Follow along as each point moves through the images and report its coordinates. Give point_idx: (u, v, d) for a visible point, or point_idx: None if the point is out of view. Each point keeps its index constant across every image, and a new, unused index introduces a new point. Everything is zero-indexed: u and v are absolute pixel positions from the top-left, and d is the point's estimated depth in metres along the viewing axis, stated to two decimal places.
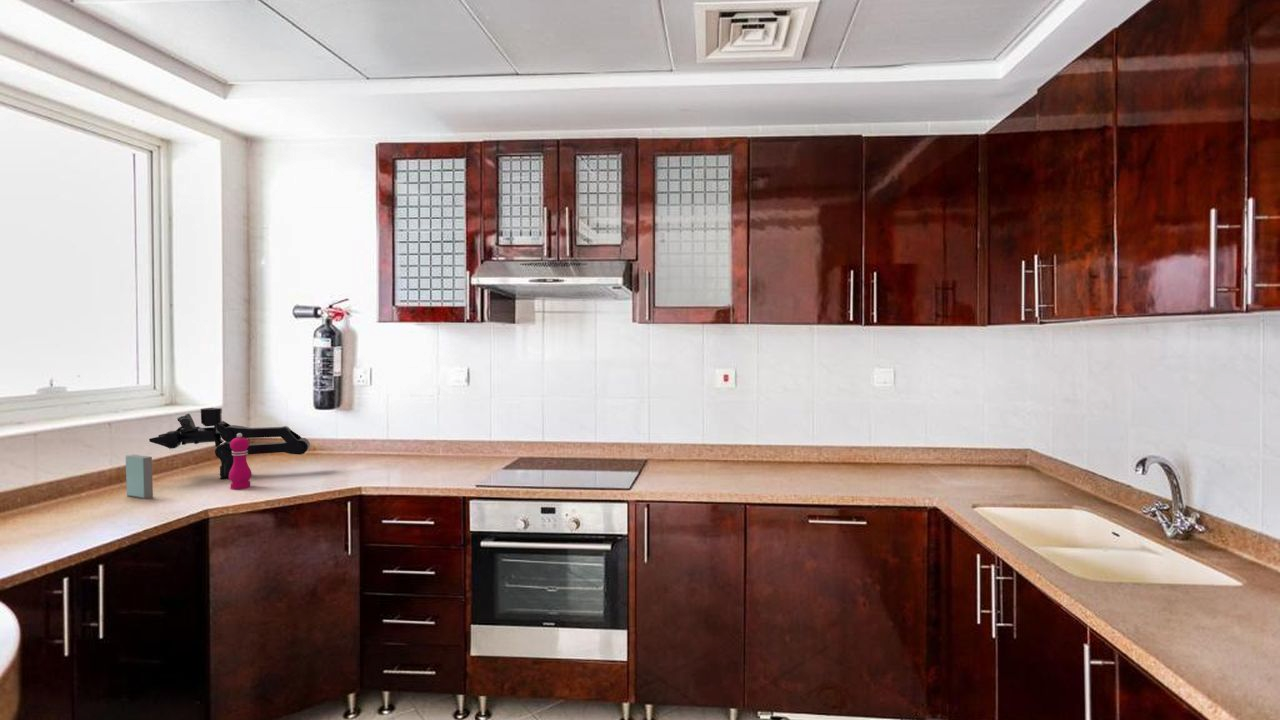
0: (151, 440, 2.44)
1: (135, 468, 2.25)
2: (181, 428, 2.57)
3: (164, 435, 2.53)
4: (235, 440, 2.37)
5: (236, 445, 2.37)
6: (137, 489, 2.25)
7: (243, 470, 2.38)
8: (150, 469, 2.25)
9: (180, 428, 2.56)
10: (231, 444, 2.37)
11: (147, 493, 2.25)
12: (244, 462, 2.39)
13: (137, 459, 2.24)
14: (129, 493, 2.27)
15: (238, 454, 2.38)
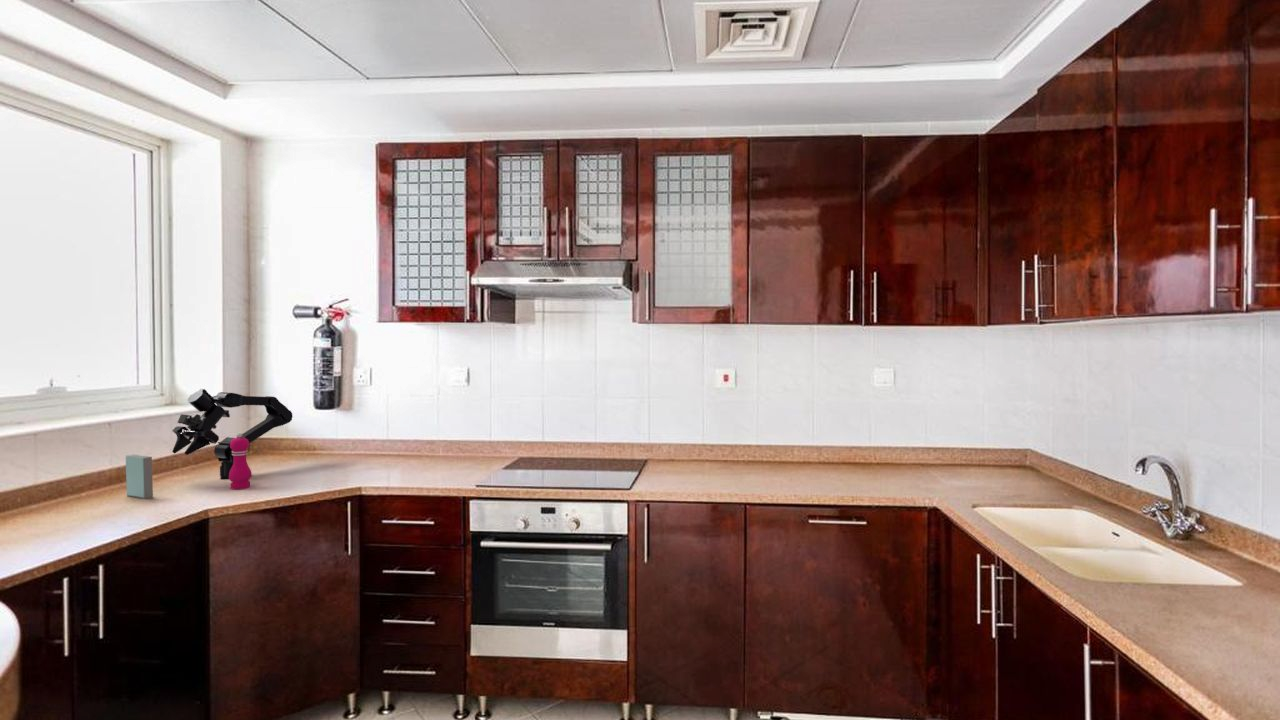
0: (188, 452, 2.38)
1: (135, 468, 2.25)
2: None
3: (176, 447, 2.41)
4: (235, 440, 2.37)
5: (236, 445, 2.37)
6: (137, 489, 2.25)
7: (243, 470, 2.38)
8: (150, 469, 2.25)
9: (180, 433, 2.43)
10: (231, 444, 2.37)
11: (147, 493, 2.25)
12: (244, 462, 2.39)
13: (137, 459, 2.24)
14: (129, 493, 2.27)
15: (238, 454, 2.38)
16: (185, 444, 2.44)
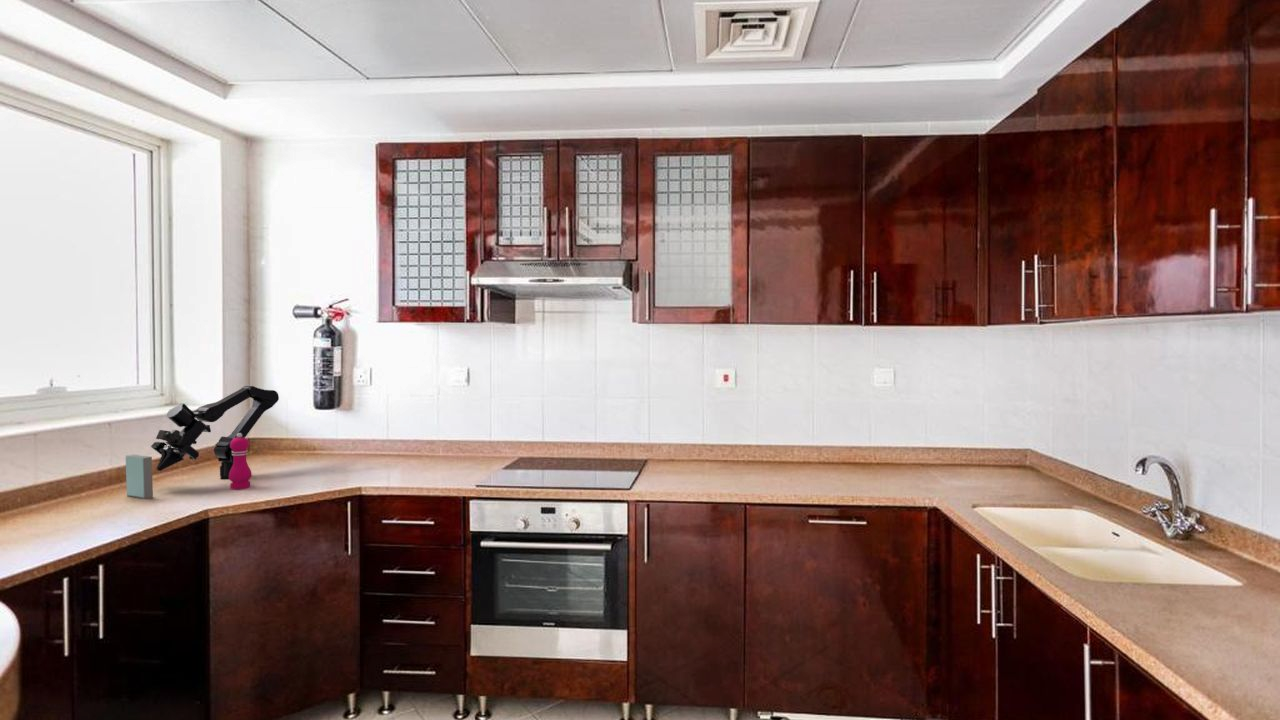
0: (160, 468, 2.32)
1: (135, 468, 2.25)
2: None
3: None
4: (235, 440, 2.37)
5: (236, 445, 2.37)
6: (137, 489, 2.25)
7: (243, 470, 2.38)
8: (150, 469, 2.25)
9: (164, 449, 2.35)
10: (231, 444, 2.37)
11: (147, 493, 2.25)
12: (244, 462, 2.39)
13: (137, 459, 2.24)
14: (129, 493, 2.27)
15: (238, 454, 2.38)
16: None
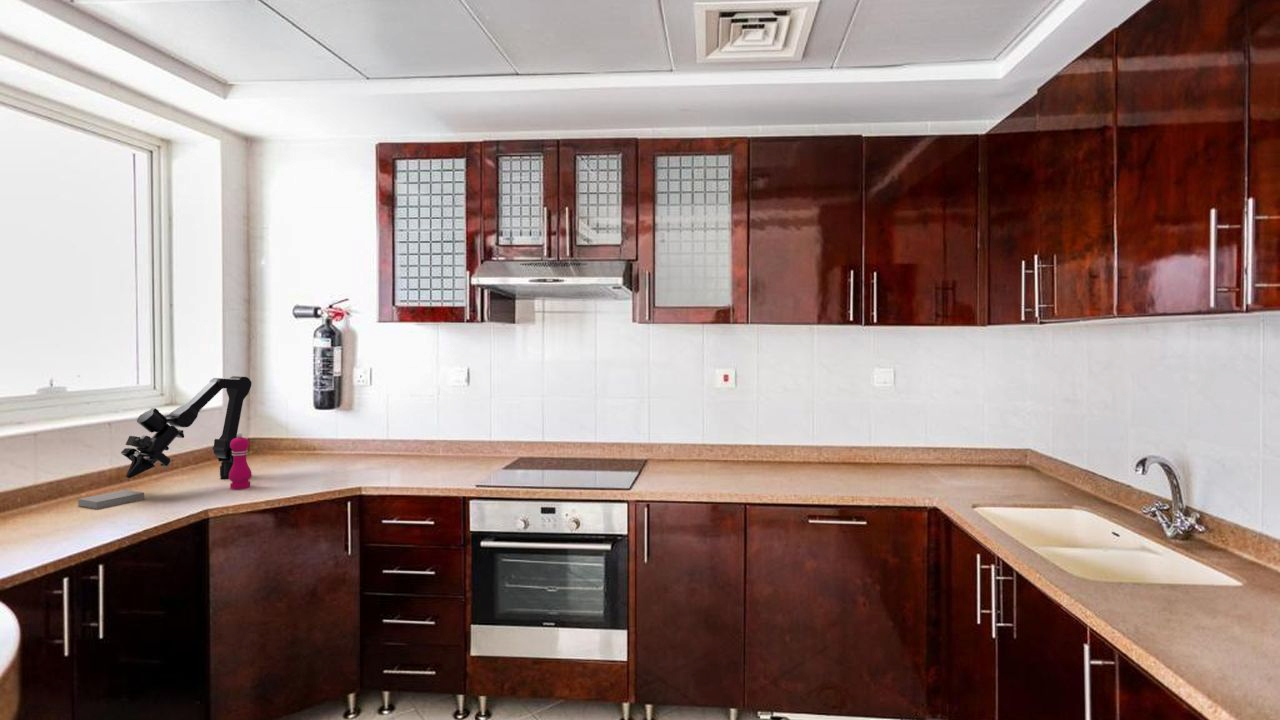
0: (130, 476, 2.23)
1: None
2: None
3: None
4: (235, 440, 2.37)
5: (236, 445, 2.37)
6: None
7: (243, 470, 2.38)
8: (111, 501, 2.15)
9: (134, 456, 2.26)
10: (231, 444, 2.37)
11: (138, 498, 2.22)
12: (244, 462, 2.39)
13: None
14: None
15: (238, 454, 2.38)
16: None
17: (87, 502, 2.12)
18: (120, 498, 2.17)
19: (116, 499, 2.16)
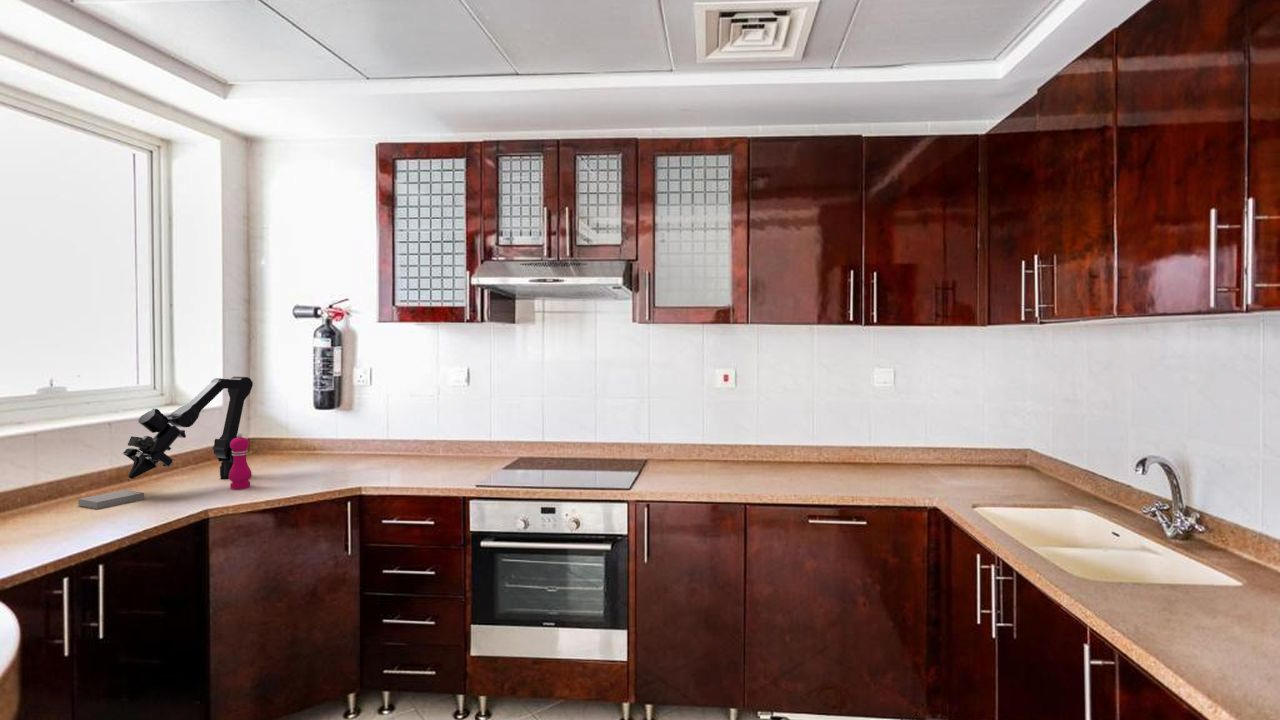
0: (132, 476, 2.24)
1: None
2: None
3: None
4: (235, 440, 2.37)
5: (236, 445, 2.37)
6: None
7: (243, 470, 2.38)
8: (112, 501, 2.15)
9: (136, 456, 2.27)
10: (231, 444, 2.37)
11: (138, 498, 2.22)
12: (244, 462, 2.39)
13: None
14: None
15: (238, 454, 2.38)
16: None
17: (87, 502, 2.13)
18: (120, 498, 2.17)
19: (116, 499, 2.16)
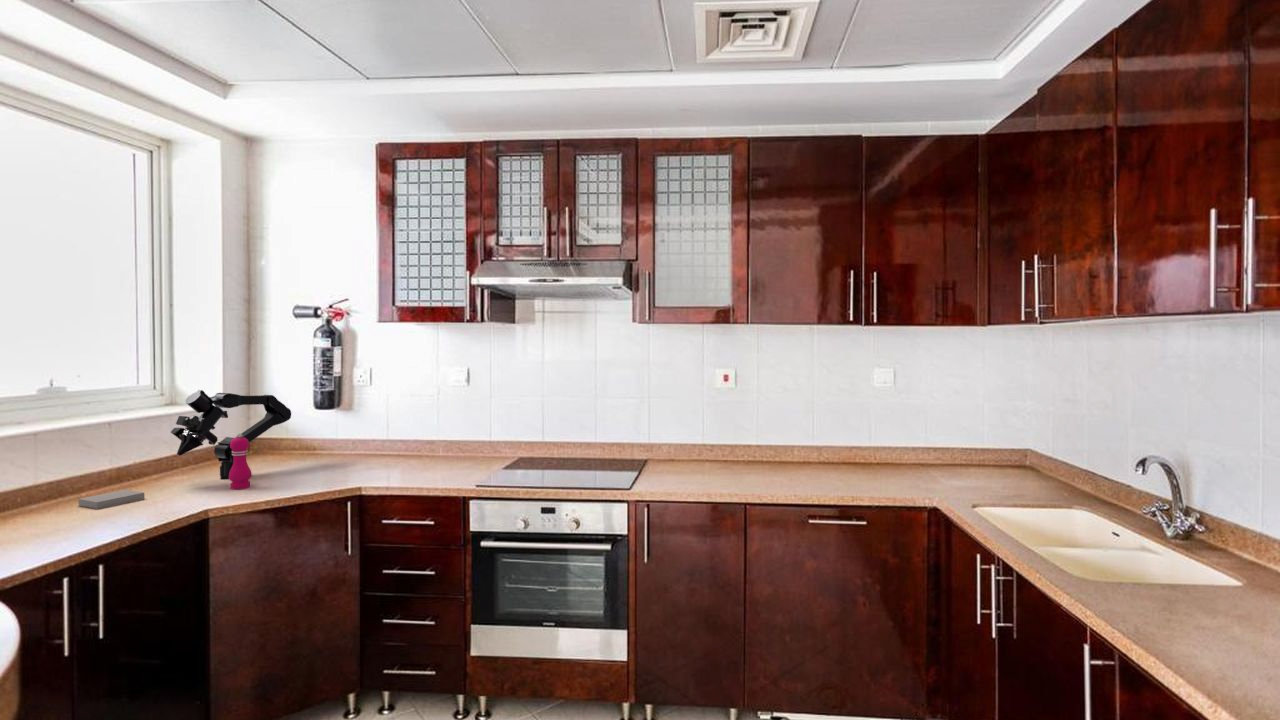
0: (181, 453, 2.39)
1: None
2: None
3: None
4: (235, 440, 2.37)
5: (236, 445, 2.37)
6: None
7: (243, 470, 2.38)
8: (112, 501, 2.15)
9: (184, 435, 2.42)
10: (231, 444, 2.37)
11: (139, 498, 2.22)
12: (244, 462, 2.39)
13: None
14: None
15: (238, 454, 2.38)
16: None
17: (87, 502, 2.13)
18: (120, 498, 2.17)
19: (116, 499, 2.16)
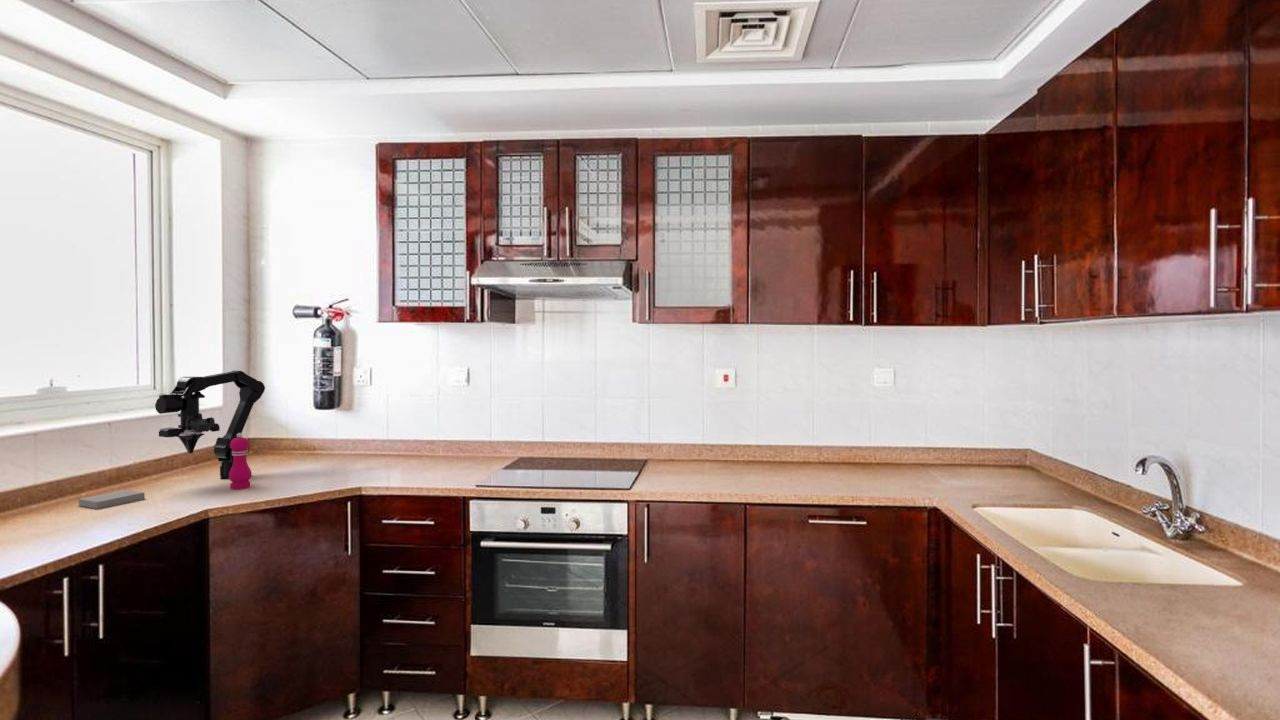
0: None
1: None
2: (187, 435, 2.39)
3: None
4: (235, 440, 2.37)
5: (236, 445, 2.37)
6: None
7: (243, 470, 2.38)
8: (112, 501, 2.15)
9: (190, 435, 2.40)
10: (231, 444, 2.37)
11: (139, 498, 2.22)
12: (244, 462, 2.39)
13: None
14: None
15: (238, 454, 2.38)
16: None
17: (87, 502, 2.13)
18: (120, 498, 2.17)
19: (116, 499, 2.16)
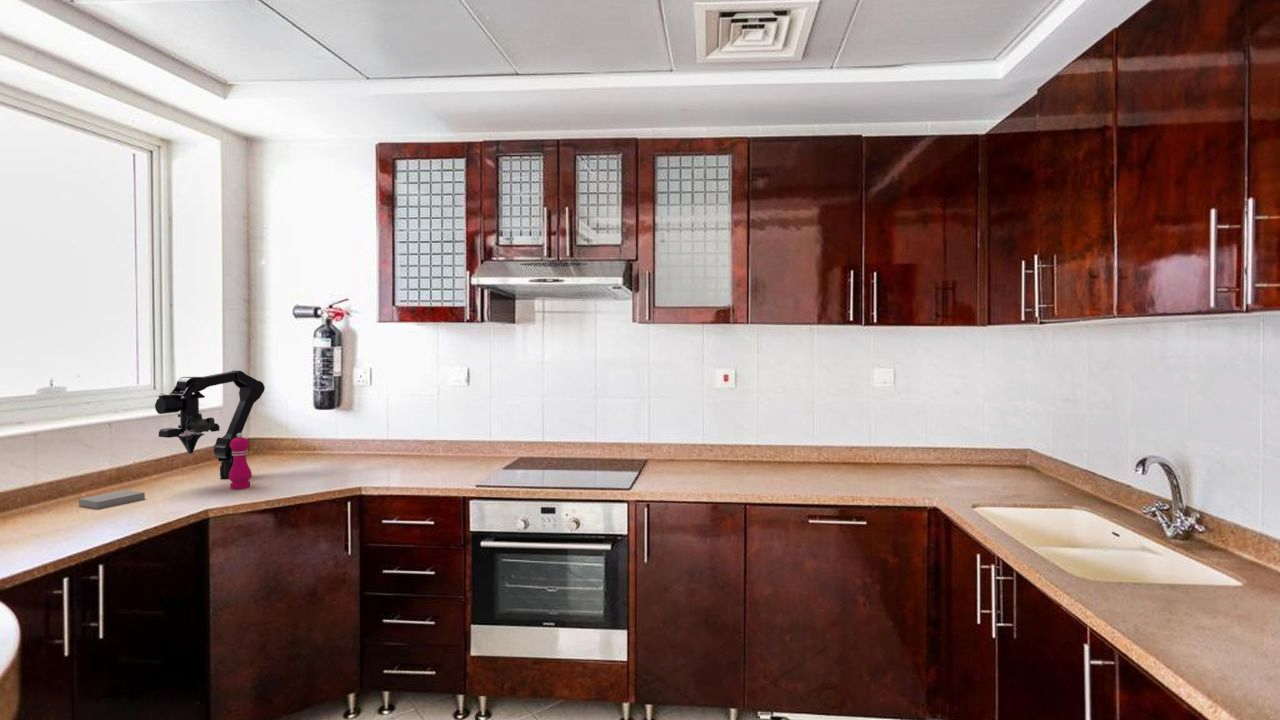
0: None
1: None
2: (187, 436, 2.39)
3: None
4: (235, 440, 2.37)
5: (236, 445, 2.37)
6: None
7: (243, 470, 2.38)
8: (112, 501, 2.15)
9: (190, 435, 2.40)
10: (231, 444, 2.37)
11: (139, 498, 2.22)
12: (244, 462, 2.39)
13: None
14: None
15: (238, 454, 2.38)
16: None
17: (88, 502, 2.13)
18: (121, 498, 2.17)
19: (117, 499, 2.16)
